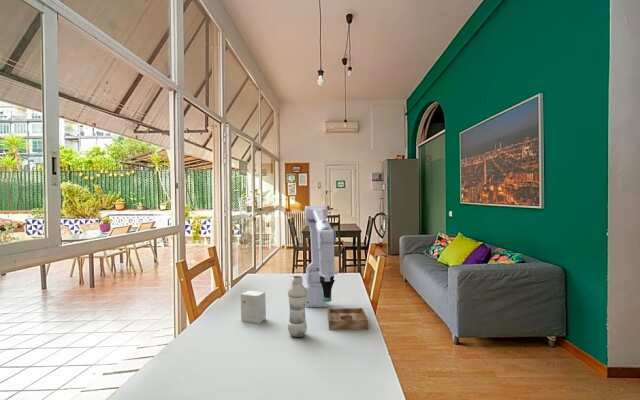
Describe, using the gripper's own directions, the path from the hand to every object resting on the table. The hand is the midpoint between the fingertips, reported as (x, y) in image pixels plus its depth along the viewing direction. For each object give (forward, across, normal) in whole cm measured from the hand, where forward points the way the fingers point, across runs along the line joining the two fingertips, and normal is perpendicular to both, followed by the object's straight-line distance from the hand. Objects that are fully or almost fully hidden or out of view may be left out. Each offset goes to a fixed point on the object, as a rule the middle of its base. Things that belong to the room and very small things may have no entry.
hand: (327, 296), depth 132 cm
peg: (+2, 0, 0) cm, 2 cm away
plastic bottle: (+10, -14, +10) cm, 20 cm away
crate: (+10, -2, -7) cm, 12 cm away
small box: (+10, +2, +29) cm, 30 cm away
